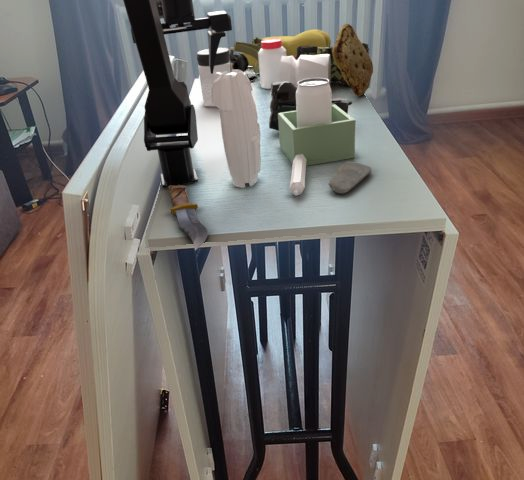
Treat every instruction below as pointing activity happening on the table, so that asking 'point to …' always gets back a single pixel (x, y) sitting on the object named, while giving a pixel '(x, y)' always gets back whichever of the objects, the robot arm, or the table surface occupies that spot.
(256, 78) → the pen
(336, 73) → the toy car
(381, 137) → the table surface
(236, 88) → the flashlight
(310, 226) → the table surface
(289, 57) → the vase
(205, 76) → the jar
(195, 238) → the knife
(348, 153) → the bin
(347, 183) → the stone
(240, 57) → the toy
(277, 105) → the cat figurine
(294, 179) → the marker
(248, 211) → the table surface
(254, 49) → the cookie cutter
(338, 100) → the pen
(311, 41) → the toy
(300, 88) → the can
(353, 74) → the pastry
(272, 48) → the pill bottle
